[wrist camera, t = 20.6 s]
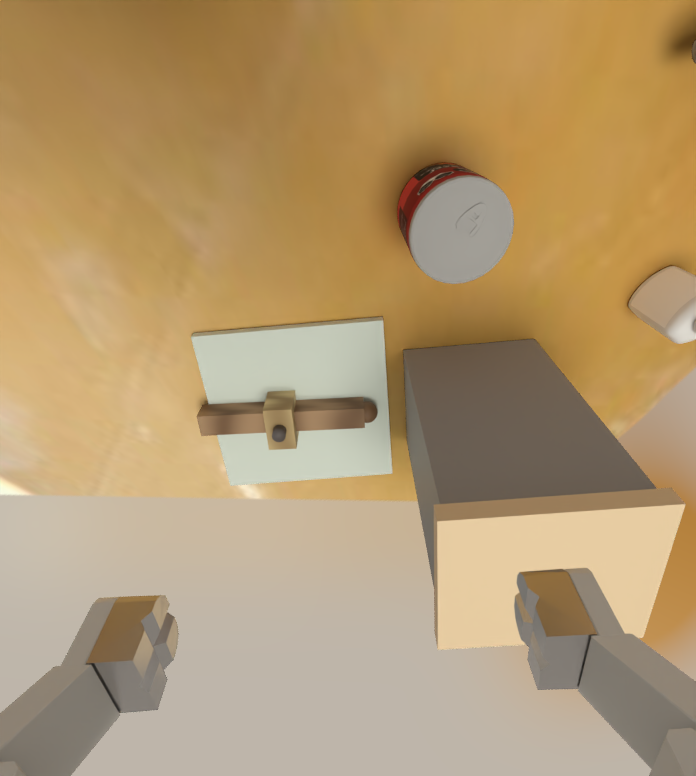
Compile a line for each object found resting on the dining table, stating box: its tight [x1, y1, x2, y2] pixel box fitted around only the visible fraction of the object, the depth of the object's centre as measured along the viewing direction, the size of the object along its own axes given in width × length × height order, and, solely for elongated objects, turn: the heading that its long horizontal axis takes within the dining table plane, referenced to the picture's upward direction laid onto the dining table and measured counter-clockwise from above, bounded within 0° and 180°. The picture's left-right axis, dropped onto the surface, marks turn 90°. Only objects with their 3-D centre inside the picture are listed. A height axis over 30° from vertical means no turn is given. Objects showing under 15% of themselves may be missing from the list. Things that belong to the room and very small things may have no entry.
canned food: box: [398, 163, 514, 284], centre depth 42 cm, size 8×8×11 cm
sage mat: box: [191, 317, 392, 486], centre depth 57 cm, size 20×20×1 cm
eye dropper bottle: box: [628, 266, 696, 344], centre depth 45 cm, size 4×6×12 cm
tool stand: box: [403, 339, 685, 650], centre depth 45 cm, size 15×13×26 cm
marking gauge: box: [197, 390, 378, 450], centre depth 54 cm, size 20×5×5 cm, turn 93°
